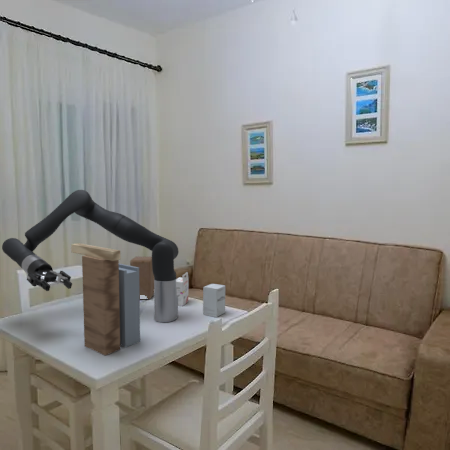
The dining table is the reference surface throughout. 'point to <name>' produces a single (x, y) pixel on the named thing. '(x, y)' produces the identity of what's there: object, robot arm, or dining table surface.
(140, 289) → the wooden block
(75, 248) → the bar
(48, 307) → the dining table surface
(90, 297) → the walnut tower
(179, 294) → the ink cartridge box
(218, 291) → the supplement box
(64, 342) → the dining table surface
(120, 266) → the grey post
